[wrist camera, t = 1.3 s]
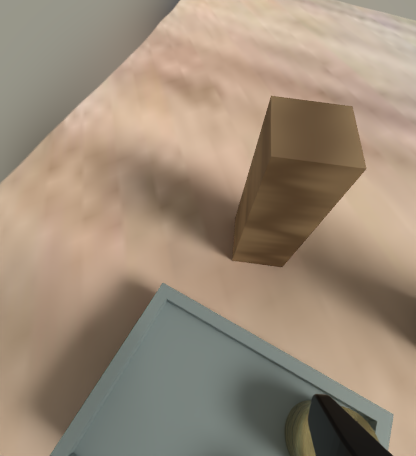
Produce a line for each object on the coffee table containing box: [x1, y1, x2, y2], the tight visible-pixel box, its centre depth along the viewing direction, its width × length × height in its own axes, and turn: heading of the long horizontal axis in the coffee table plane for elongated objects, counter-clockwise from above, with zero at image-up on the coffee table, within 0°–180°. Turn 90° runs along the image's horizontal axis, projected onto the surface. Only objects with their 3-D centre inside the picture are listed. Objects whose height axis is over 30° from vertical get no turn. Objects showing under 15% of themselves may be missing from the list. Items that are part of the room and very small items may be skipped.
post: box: [232, 96, 366, 267], centre depth 19 cm, size 4×4×13 cm
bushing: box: [284, 400, 380, 456], centre depth 14 cm, size 4×4×4 cm
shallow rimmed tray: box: [50, 283, 394, 456], centre depth 16 cm, size 16×11×4 cm
